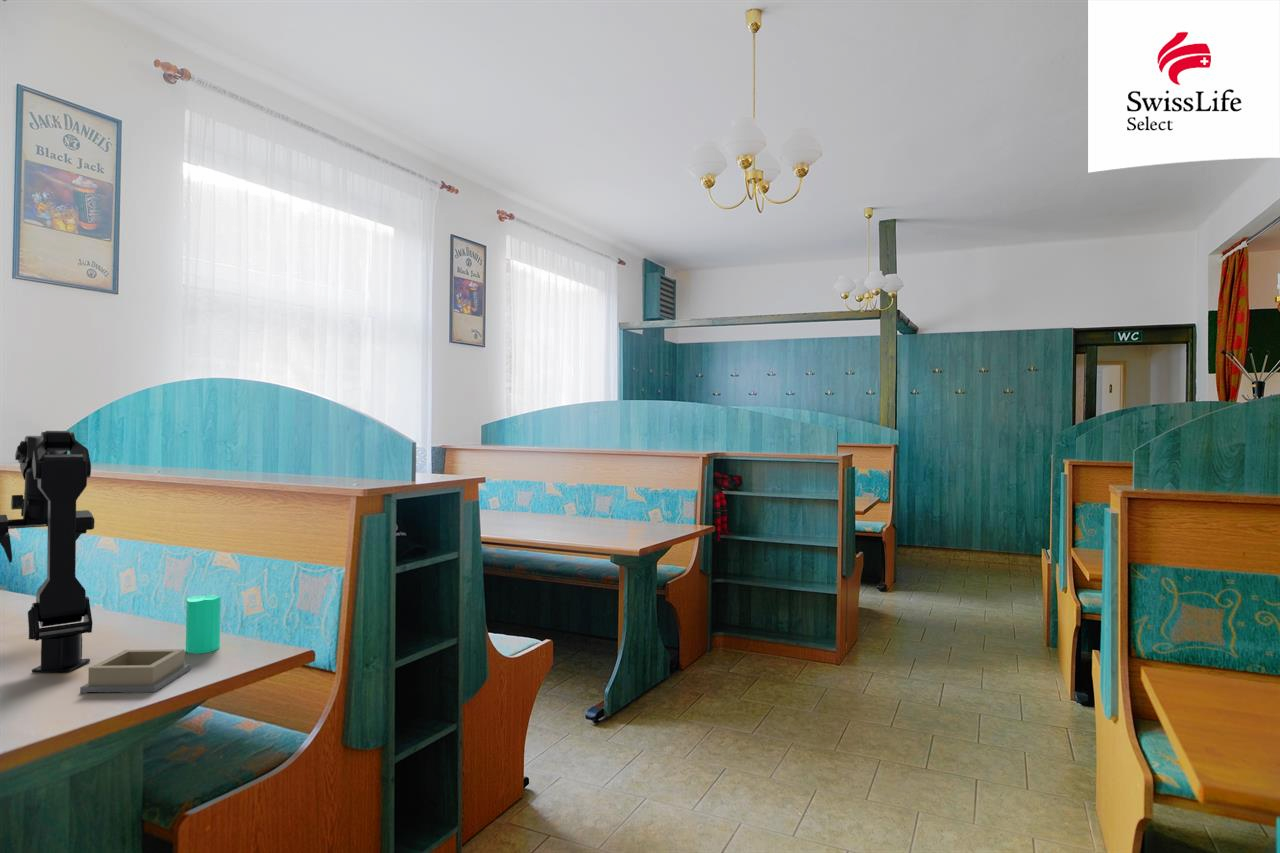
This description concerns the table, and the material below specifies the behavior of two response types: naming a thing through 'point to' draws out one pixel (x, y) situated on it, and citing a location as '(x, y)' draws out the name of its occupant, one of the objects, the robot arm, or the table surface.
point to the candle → (203, 624)
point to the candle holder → (136, 671)
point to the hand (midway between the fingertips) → (37, 559)
